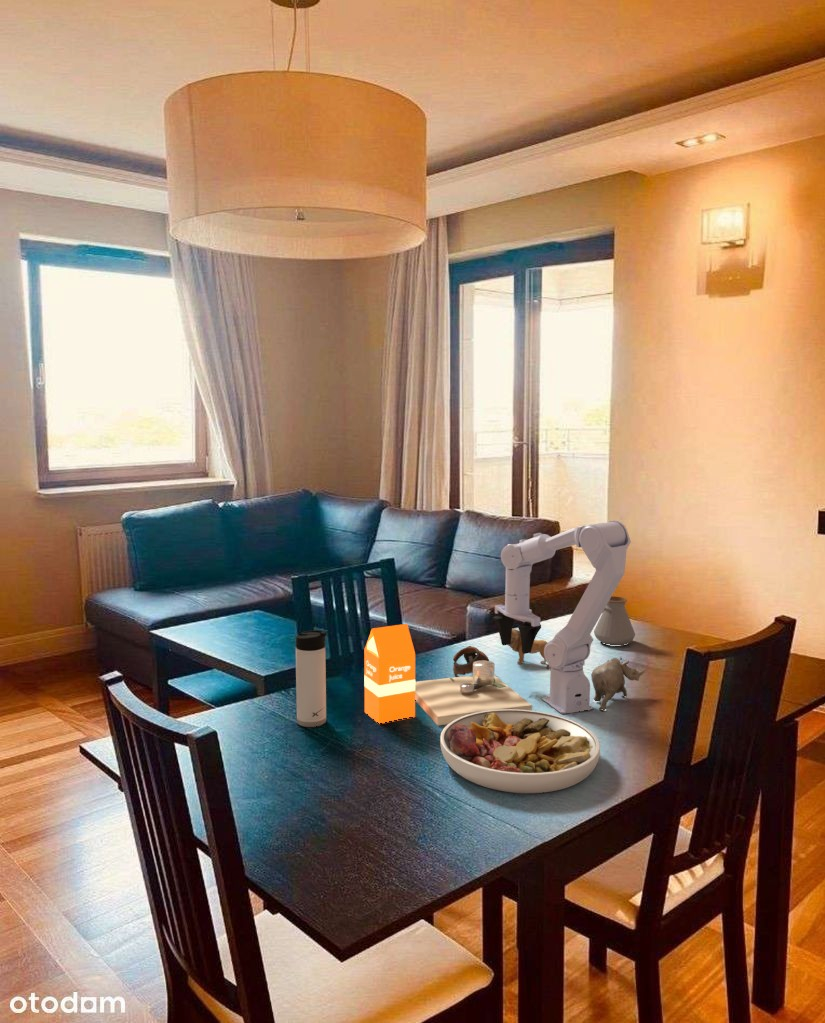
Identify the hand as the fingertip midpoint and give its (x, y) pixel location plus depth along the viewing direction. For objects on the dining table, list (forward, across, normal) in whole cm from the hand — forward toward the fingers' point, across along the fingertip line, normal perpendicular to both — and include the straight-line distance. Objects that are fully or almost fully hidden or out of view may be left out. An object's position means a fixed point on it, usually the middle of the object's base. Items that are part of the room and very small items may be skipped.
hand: (516, 648), depth 195 cm
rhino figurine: (+10, -19, -14) cm, 25 cm away
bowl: (+10, -32, +26) cm, 43 cm away
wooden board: (+9, -2, +16) cm, 19 cm away
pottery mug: (+10, +13, +3) cm, 16 cm away
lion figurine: (+10, +11, -14) cm, 20 cm away
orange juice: (+10, +1, +35) cm, 36 cm away
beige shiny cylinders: (+7, -1, +12) cm, 14 cm away
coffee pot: (+10, +11, -42) cm, 45 cm away
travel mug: (+10, +6, +51) cm, 52 cm away
